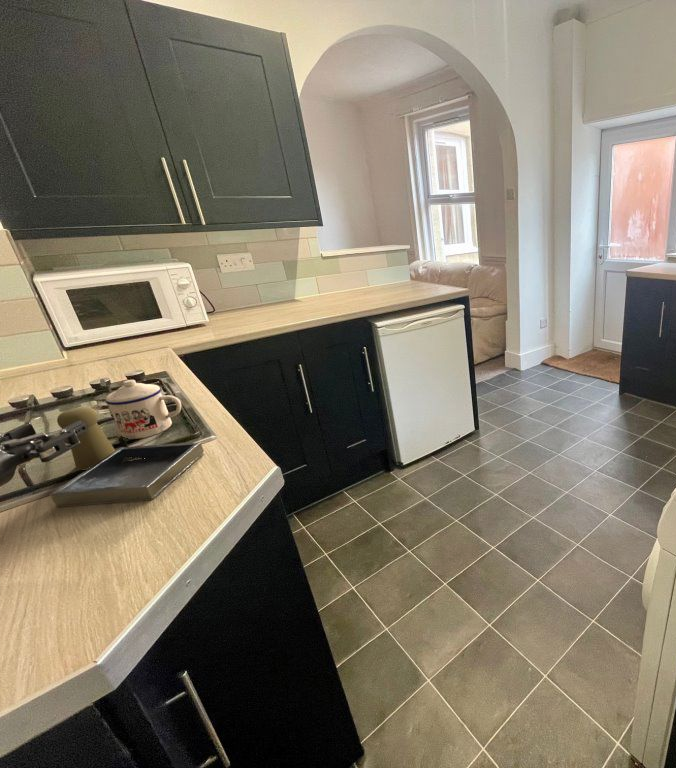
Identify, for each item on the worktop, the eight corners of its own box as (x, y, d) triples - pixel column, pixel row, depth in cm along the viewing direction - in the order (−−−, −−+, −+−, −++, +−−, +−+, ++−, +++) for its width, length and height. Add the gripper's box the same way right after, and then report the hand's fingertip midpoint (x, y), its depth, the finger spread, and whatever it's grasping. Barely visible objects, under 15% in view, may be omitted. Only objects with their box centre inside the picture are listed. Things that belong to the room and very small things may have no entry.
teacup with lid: (112, 443, 87) (89, 392, 82) (132, 425, 94) (112, 376, 90) (180, 433, 90) (162, 383, 86) (194, 415, 98) (178, 369, 94)
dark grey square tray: (56, 507, 67) (49, 494, 66) (125, 458, 81) (120, 447, 80) (152, 500, 68) (147, 486, 67) (204, 453, 82) (200, 441, 81)
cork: (88, 473, 76) (62, 419, 72) (68, 467, 78) (42, 414, 74) (126, 456, 82) (104, 405, 78) (107, 451, 84) (84, 401, 80)
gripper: (-6, 453, 57) (93, 404, 72) (-122, 461, 56) (2, 410, 71) (20, 499, 60) (109, 442, 75) (-90, 507, 59) (23, 448, 74)
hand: (57, 426), depth 73 cm, fingers open, 8 cm apart
